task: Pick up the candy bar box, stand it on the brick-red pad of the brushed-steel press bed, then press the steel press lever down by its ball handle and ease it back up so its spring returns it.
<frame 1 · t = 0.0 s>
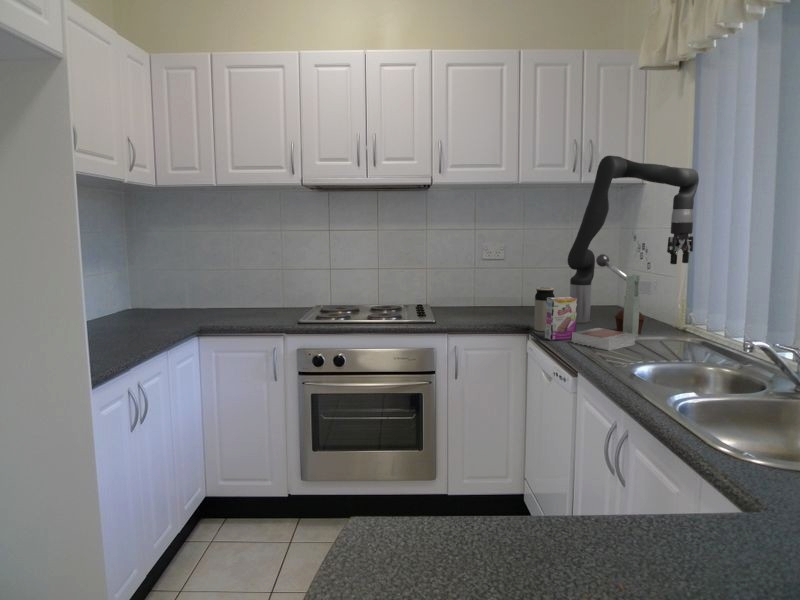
hand: (679, 263, 216), 29 cm above the countertop, tool pointing down, fingers open, 8 cm apart
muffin: (628, 333, 230), on the countertop
candy bar box: (560, 339, 219), on the countertop
travel mug: (543, 330, 237), on the countertop
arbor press: (602, 343, 210), on the countertop
press lever: (624, 273, 218), point 26 cm above the countertop, hinge at 0.0°
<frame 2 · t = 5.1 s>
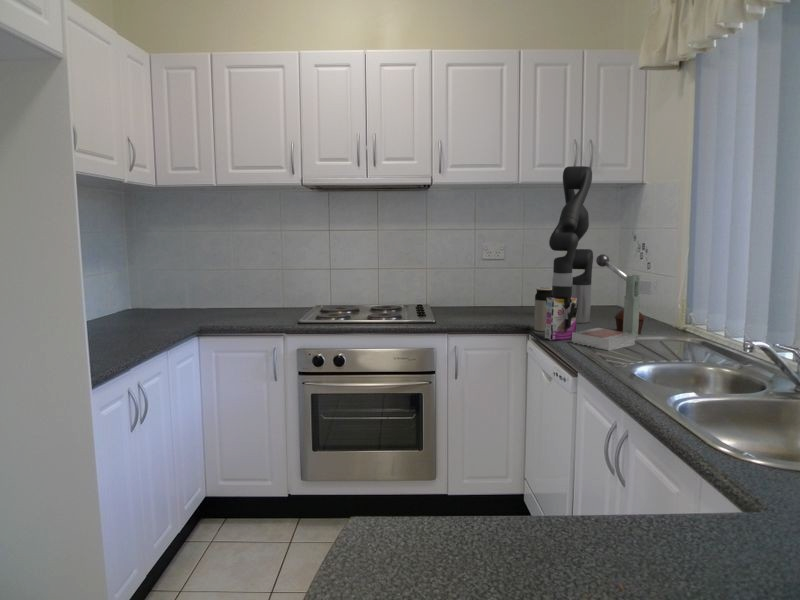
hand: (560, 327, 218), 5 cm above the countertop, tool pointing down, fingers closed on candy bar box, 5 cm apart
candy bar box: (560, 339, 219), on the countertop, touching gripper
everything else where it was.
when the fingers open (10 cm above the countertop, at t = 10.6 s): candy bar box stays where it is, resting on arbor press.
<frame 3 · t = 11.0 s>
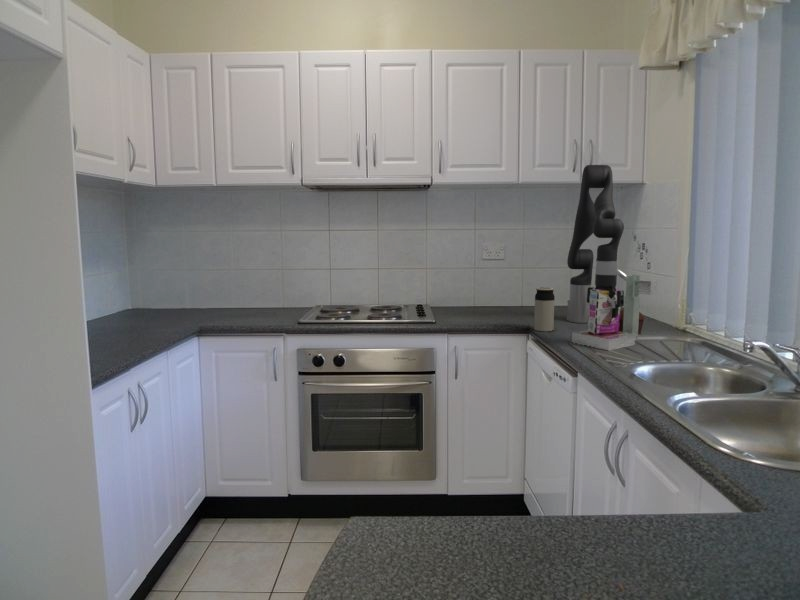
hand: (604, 316, 209), 10 cm above the countertop, tool pointing down, fingers open, 8 cm apart
candy bar box: (603, 333, 209), point 4 cm above the countertop, touching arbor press
everything else where it was.
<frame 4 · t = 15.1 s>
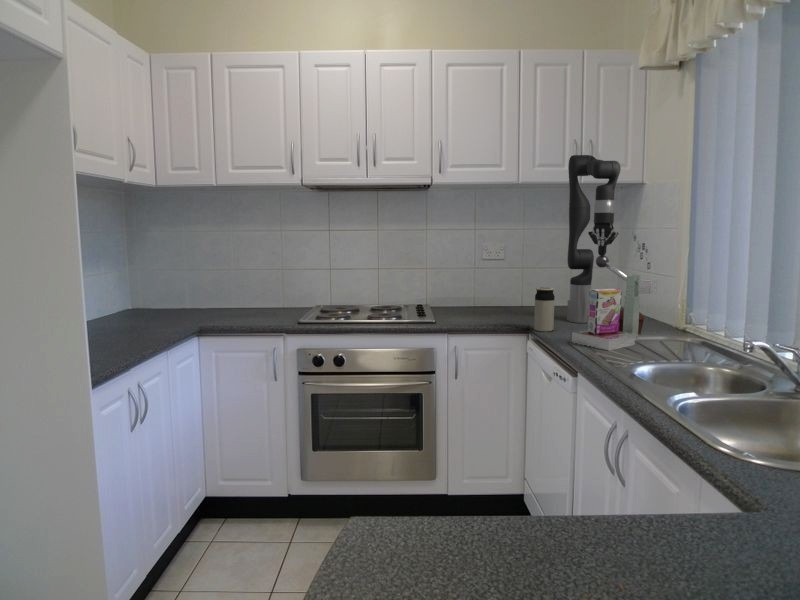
hand: (602, 255, 225), 32 cm above the countertop, tool pointing down, fingers closed
press lever: (624, 273, 218), point 25 cm above the countertop, hinge at -1.5°, touching gripper
everything else where it was.
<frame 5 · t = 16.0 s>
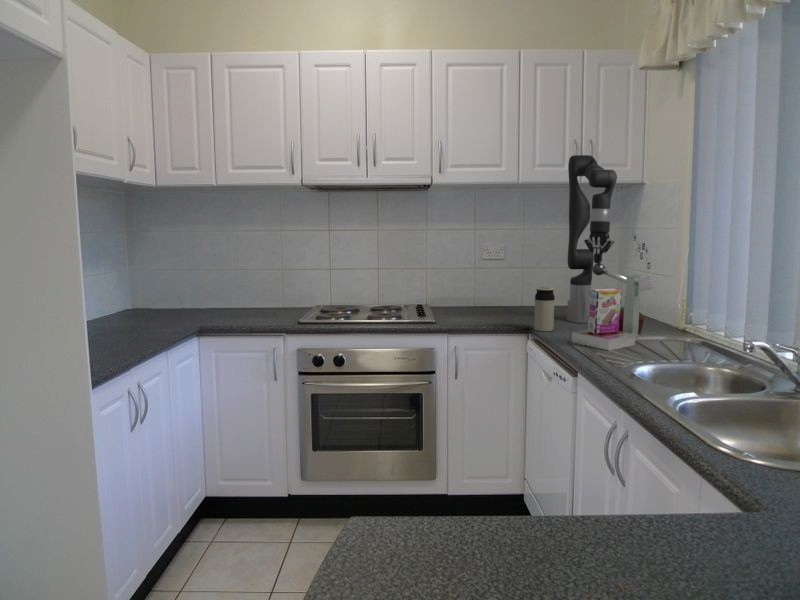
hand: (597, 263, 227), 29 cm above the countertop, tool pointing down, fingers closed
press lever: (622, 275, 219), point 24 cm above the countertop, hinge at -14.4°, touching gripper
everything else where it was.
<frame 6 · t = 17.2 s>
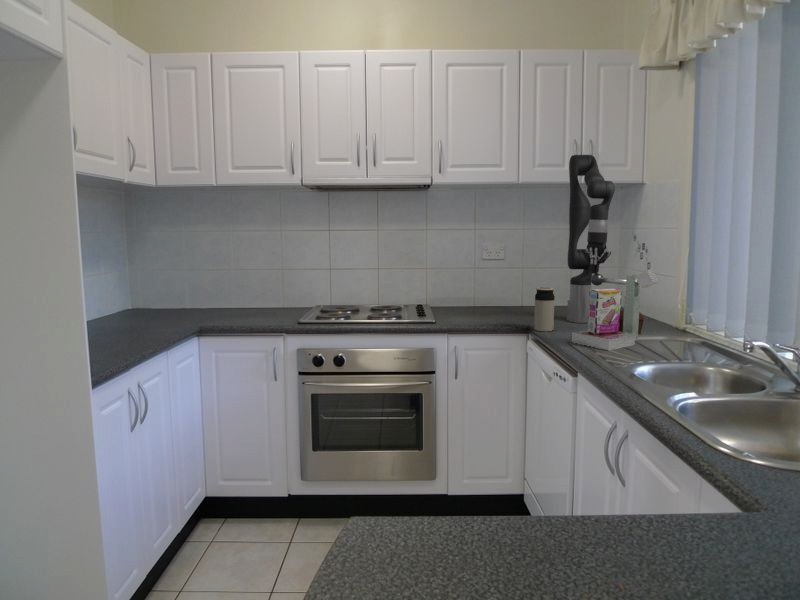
hand: (594, 273, 229), 24 cm above the countertop, tool pointing down, fingers closed
press lever: (621, 279, 219), point 23 cm above the countertop, hinge at -29.6°, touching gripper
everything else where it was.
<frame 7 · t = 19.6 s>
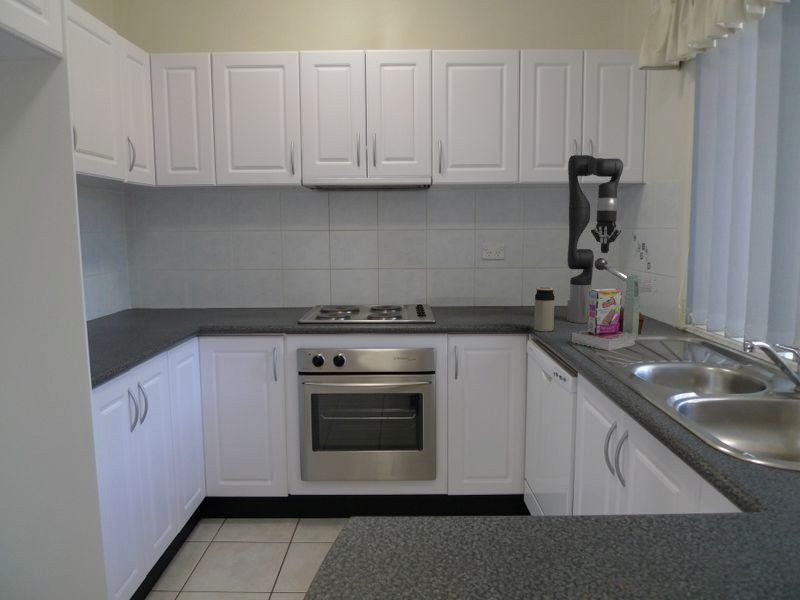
hand: (604, 252, 226), 33 cm above the countertop, tool pointing down, fingers closed
press lever: (623, 274, 218), point 25 cm above the countertop, hinge at -6.1°
everything else where it was.
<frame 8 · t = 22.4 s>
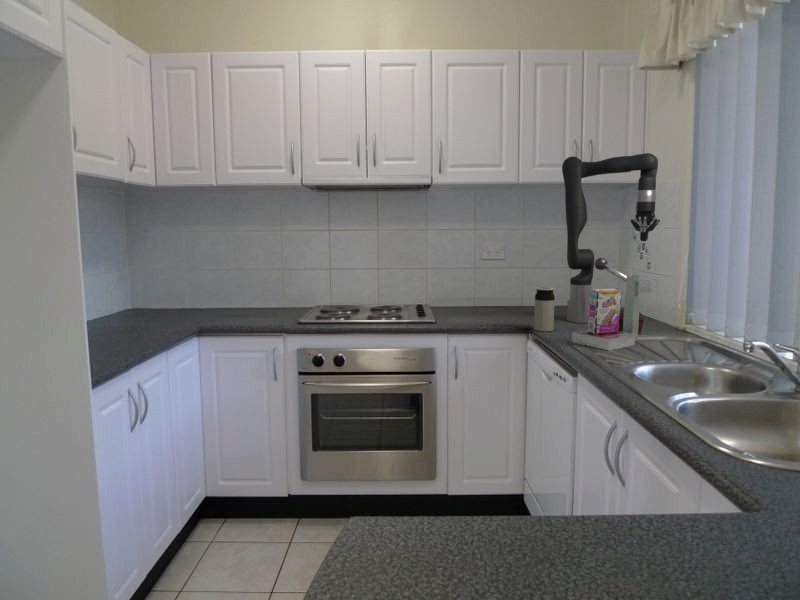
hand: (643, 241, 244), 37 cm above the countertop, tool pointing down, fingers closed
press lever: (623, 274, 218), point 25 cm above the countertop, hinge at -5.7°
everything else where it was.
at the end: candy bar box inside the target area on the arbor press (0.0 cm from its centre), point 4.0 cm above the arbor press's base; candy bar box tilted 0°; press lever at -6° (first picture: +0°) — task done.
